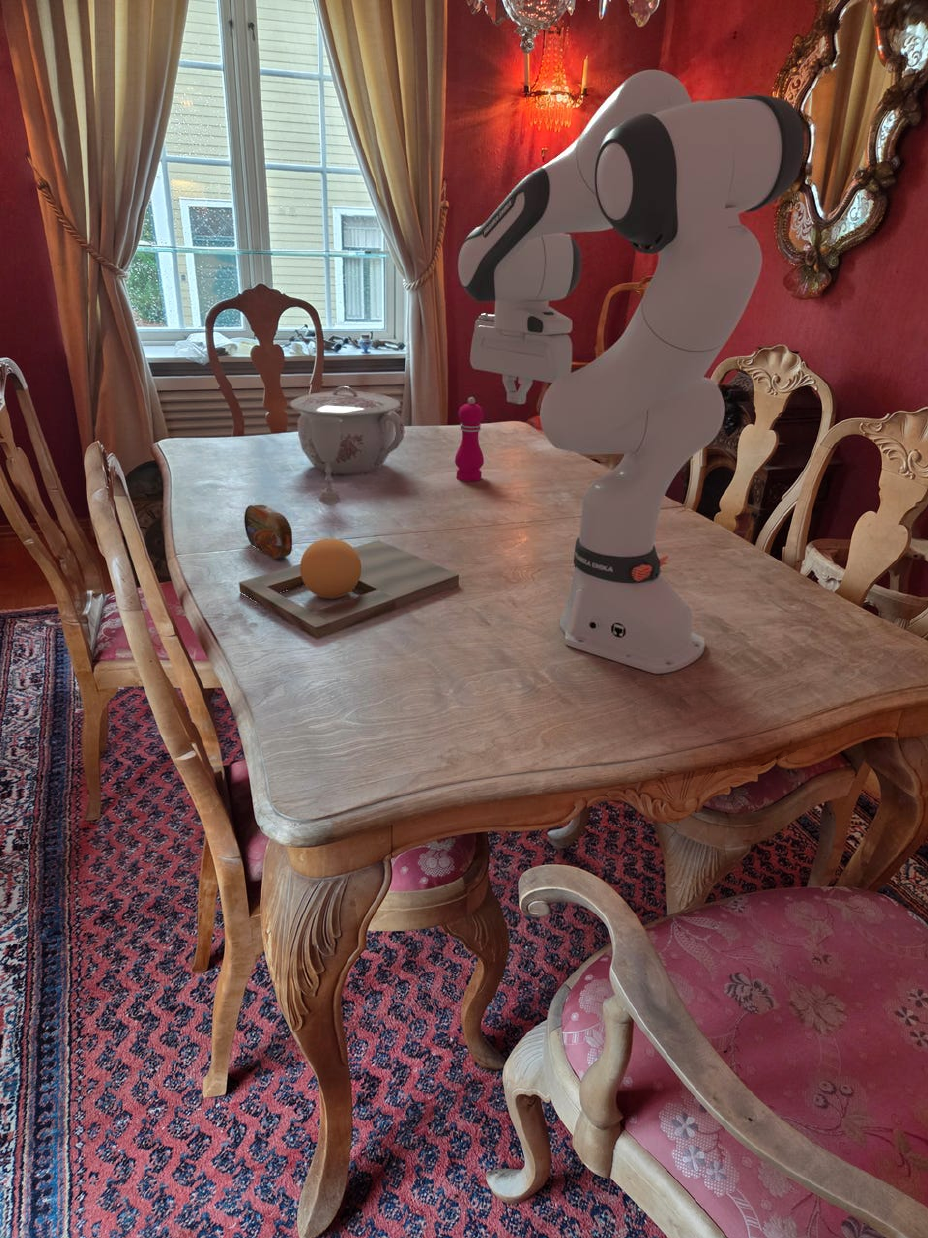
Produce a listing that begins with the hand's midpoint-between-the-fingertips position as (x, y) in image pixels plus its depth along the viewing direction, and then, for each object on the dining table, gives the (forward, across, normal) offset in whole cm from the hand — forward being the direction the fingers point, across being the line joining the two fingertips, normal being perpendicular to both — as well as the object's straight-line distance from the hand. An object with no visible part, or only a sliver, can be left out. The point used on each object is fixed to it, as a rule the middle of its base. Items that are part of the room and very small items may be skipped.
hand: (516, 402), depth 133 cm
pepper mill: (+29, -42, +32) cm, 60 cm away
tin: (+29, -32, -32) cm, 54 cm away
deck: (+29, -8, -30) cm, 43 cm away
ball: (+24, -8, -35) cm, 43 cm away
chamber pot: (+29, -68, +14) cm, 75 cm away
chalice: (+29, -50, -5) cm, 58 cm away
